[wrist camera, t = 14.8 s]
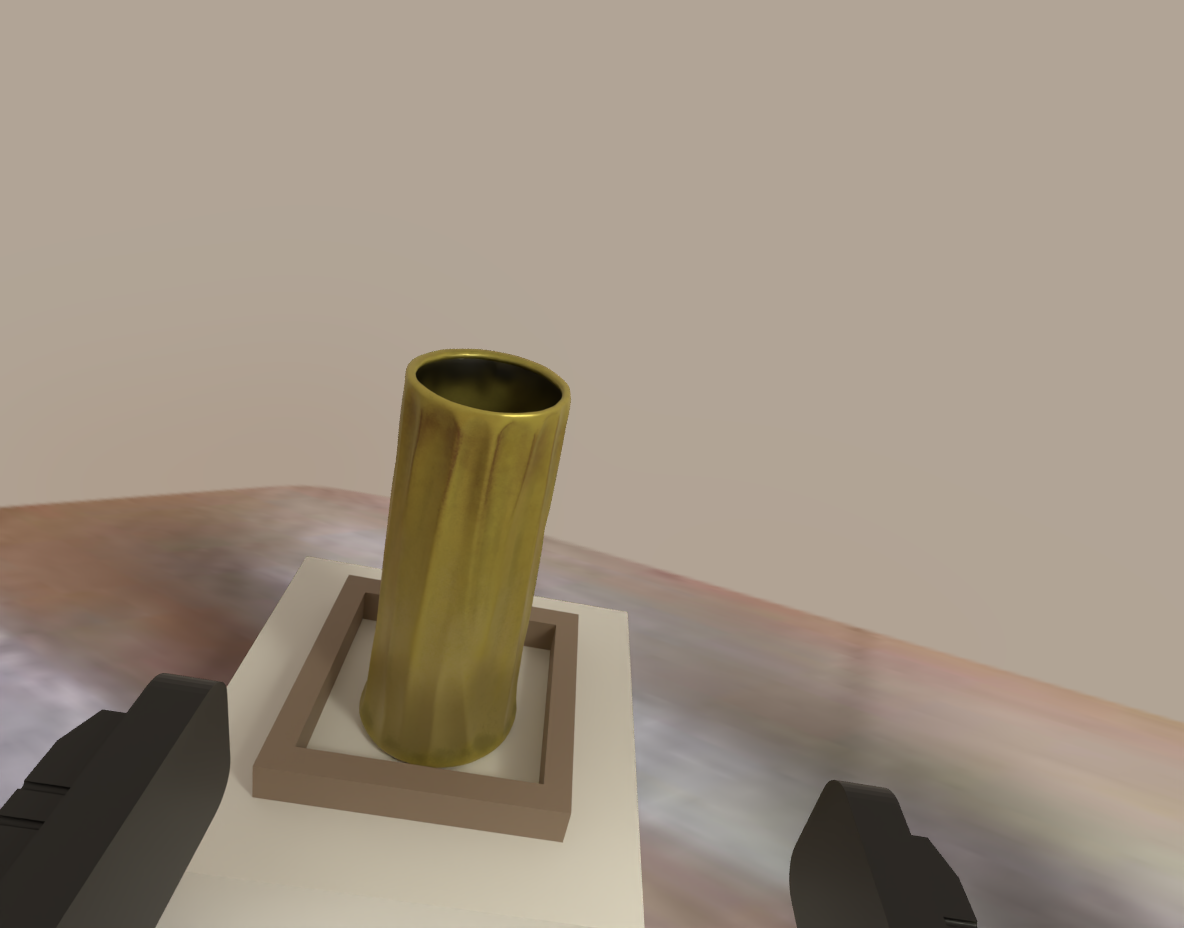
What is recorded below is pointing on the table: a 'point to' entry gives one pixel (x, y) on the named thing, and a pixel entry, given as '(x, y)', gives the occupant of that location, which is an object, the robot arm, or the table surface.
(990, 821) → the table surface
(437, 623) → the vase
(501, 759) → the display stand
